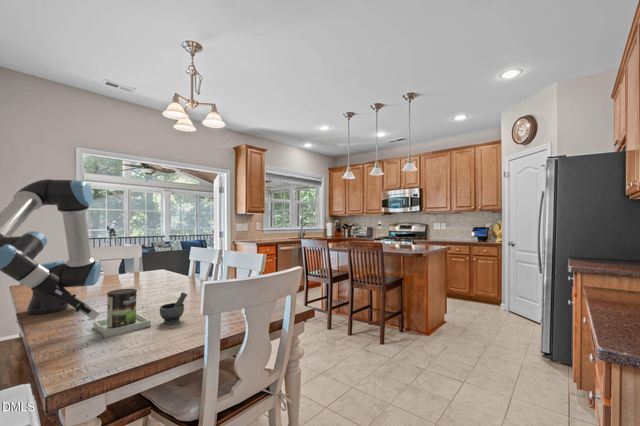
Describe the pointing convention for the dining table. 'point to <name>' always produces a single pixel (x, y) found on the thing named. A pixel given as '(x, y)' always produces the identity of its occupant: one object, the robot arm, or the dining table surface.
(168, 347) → the dining table surface
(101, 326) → the tray
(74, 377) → the dining table surface
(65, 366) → the dining table surface
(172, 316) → the mortar and pestle
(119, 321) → the coffee can
